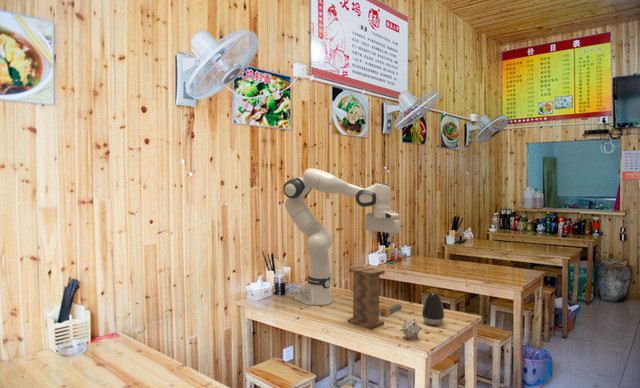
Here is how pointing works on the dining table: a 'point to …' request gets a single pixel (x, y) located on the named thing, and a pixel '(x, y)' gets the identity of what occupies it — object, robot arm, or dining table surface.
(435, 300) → the pump dispenser
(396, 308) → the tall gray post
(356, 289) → the walnut stand
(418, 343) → the dining table surface
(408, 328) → the game die
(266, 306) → the dining table surface
